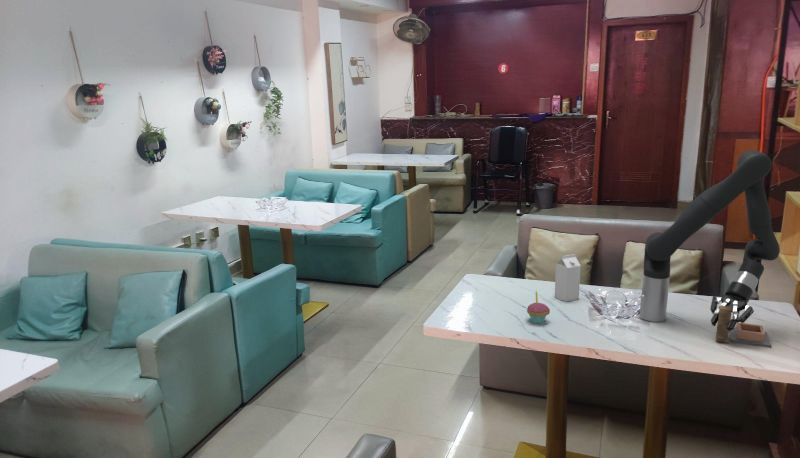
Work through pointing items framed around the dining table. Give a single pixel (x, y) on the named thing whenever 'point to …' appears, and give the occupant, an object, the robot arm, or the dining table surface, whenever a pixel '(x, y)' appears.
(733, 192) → the robot arm
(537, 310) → the cupcake
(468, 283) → the dining table surface
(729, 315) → the wooden square peg
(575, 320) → the dining table surface
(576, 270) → the milk carton
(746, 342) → the square peg socket
